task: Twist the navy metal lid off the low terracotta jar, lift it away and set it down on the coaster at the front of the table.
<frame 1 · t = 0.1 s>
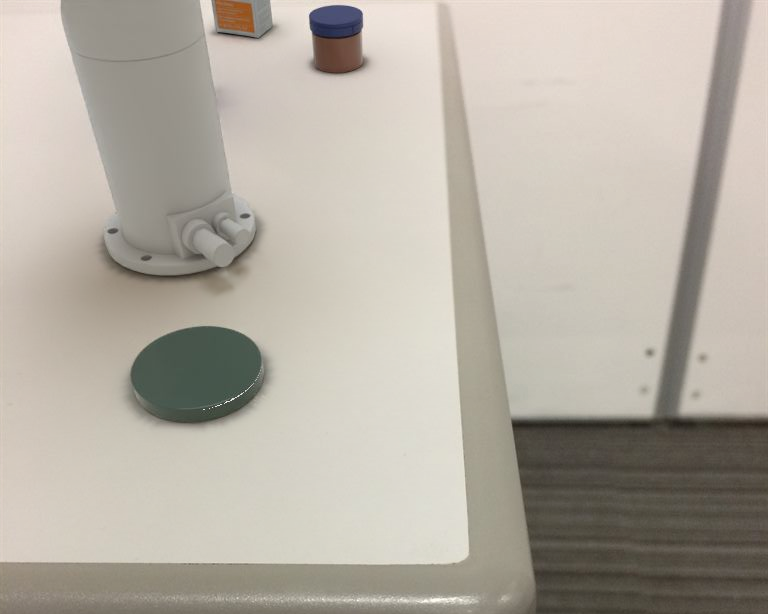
cosmetic box: (245, 31, 101), on the table
jar: (338, 63, 93), on the table
coaster: (199, 378, 57), on the table
jar lid: (336, 18, 90), point 5 cm above the table, screwed on, not yet turned
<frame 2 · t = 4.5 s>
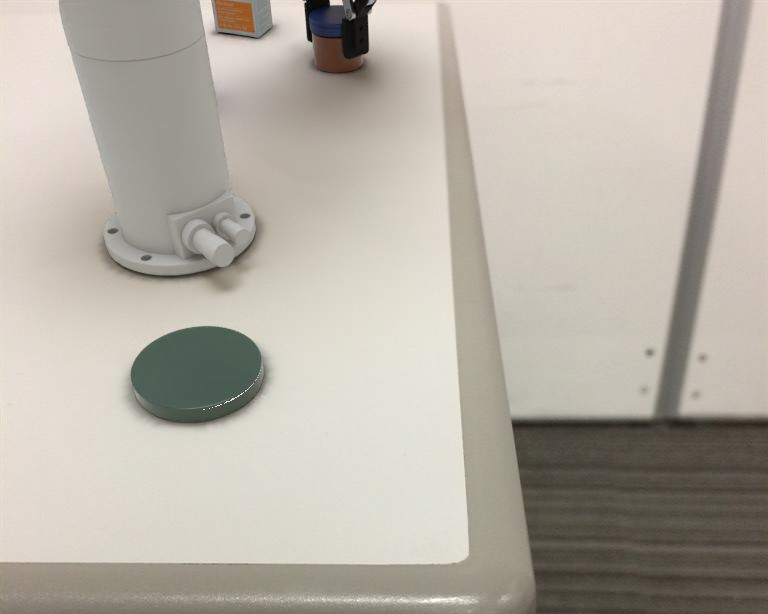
hand: (337, 45, 92), 2 cm above the table, tool pointing down, fingers closed on jar lid, 5 cm apart
jar lid: (336, 18, 90), point 5 cm above the table, screwed on, not yet turned, touching gripper
everything else where it was.
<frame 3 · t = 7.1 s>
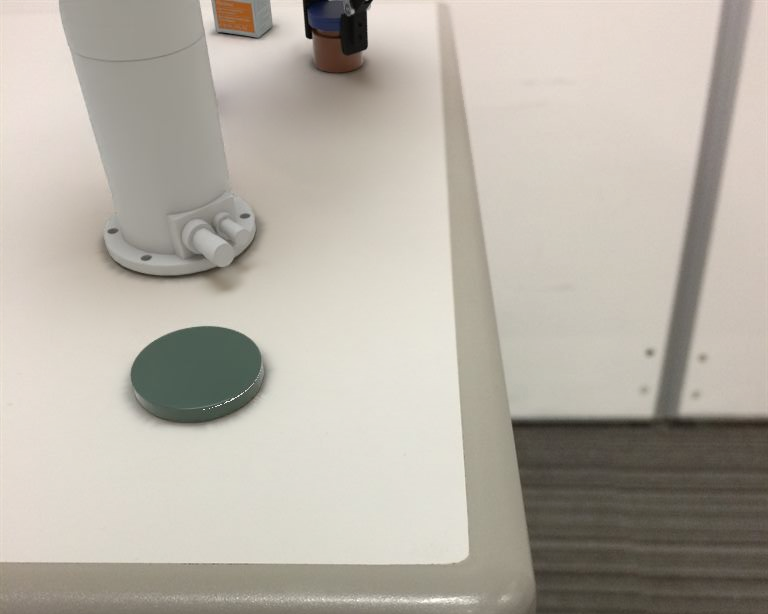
hand: (336, 42, 91), 2 cm above the table, tool pointing down, fingers closed on jar lid, 5 cm apart
jar: (338, 62, 93), on the table, touching gripper
jar lid: (335, 12, 89), point 5 cm above the table, off its thread, touching gripper
everything else where it was.
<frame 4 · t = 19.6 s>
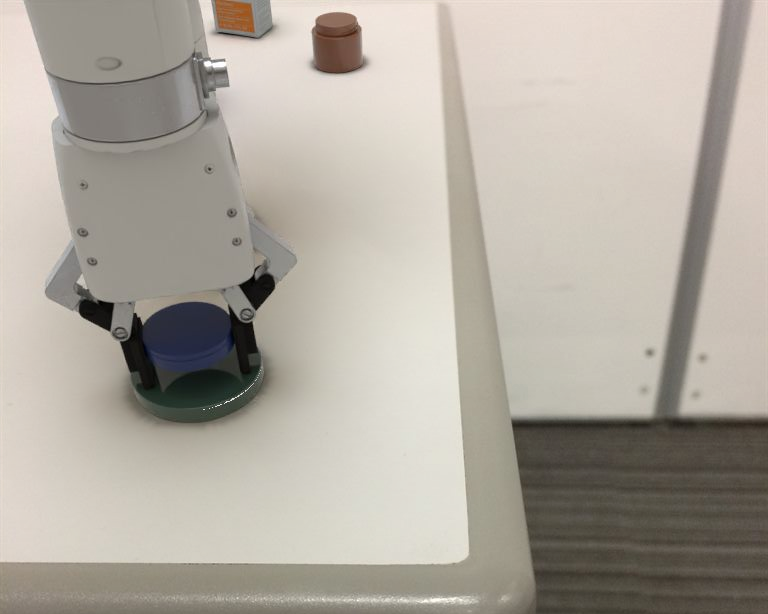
hand: (196, 366, 56), 1 cm above the table, tool pointing down, fingers closed on jar lid, coaster, 5 cm apart
jar: (338, 63, 93), on the table
jar lid: (187, 332, 53), point 4 cm above the table, off its thread, touching gripper
everything else where it was.
when the fingers open (2 cm above the table, at t = 26.8 s): jar lid drops 3 cm, resting on coaster.
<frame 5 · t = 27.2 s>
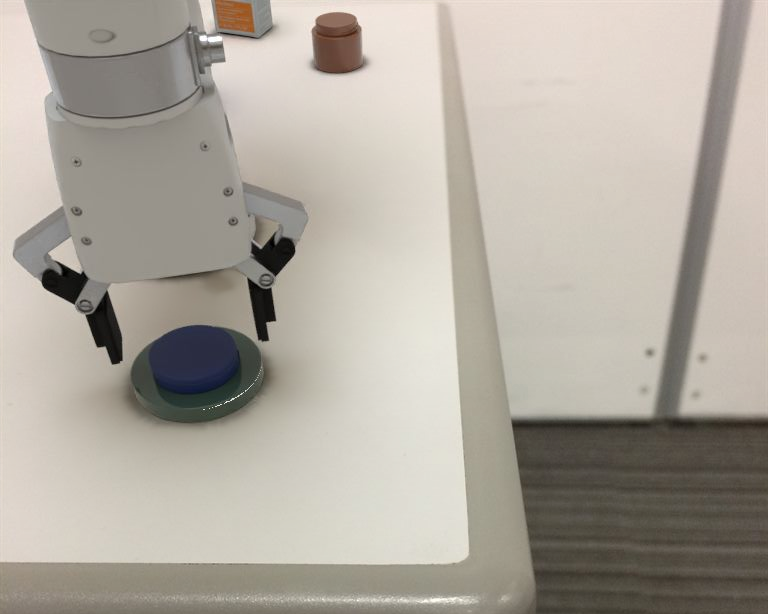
hand: (190, 340, 55), 3 cm above the table, tool pointing down, fingers open, 9 cm apart
jar lid: (193, 355, 55), point 2 cm above the table, off its thread, touching coaster
everything else where it was.
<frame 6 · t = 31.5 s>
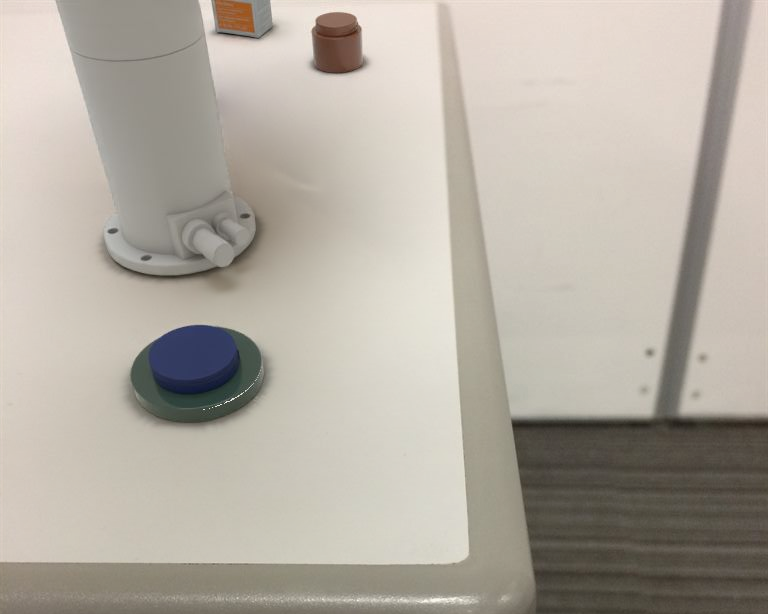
nothing on the table moved.
at the end: jar lid 0.1 cm off-centre on the coaster, point 2.1 cm above the coaster's base; jar lid point 2.1 cm above the table; the gripper is holding nothing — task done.
